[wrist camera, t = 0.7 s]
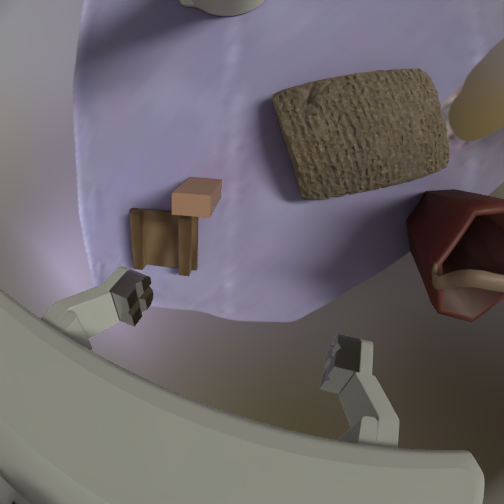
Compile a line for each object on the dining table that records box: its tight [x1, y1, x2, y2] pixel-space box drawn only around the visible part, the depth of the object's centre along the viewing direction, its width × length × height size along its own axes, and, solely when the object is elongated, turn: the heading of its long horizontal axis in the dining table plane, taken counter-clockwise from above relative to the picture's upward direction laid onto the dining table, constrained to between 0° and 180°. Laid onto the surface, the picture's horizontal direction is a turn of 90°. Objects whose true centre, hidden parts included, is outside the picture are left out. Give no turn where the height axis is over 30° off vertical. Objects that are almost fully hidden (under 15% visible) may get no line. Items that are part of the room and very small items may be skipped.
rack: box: [129, 208, 198, 276], centre depth 57 cm, size 14×12×3 cm
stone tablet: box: [272, 69, 449, 200], centre depth 43 cm, size 20×8×30 cm
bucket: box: [406, 190, 504, 322], centre depth 42 cm, size 24×22×25 cm
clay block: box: [172, 177, 222, 218], centre depth 48 cm, size 6×4×11 cm, turn 84°
